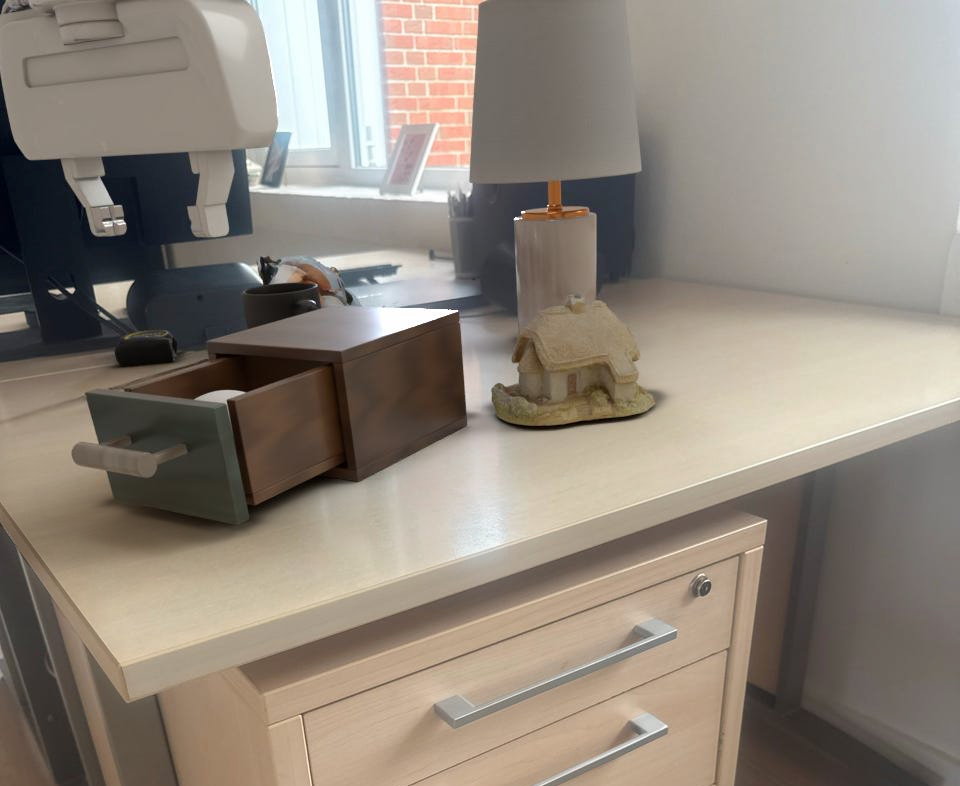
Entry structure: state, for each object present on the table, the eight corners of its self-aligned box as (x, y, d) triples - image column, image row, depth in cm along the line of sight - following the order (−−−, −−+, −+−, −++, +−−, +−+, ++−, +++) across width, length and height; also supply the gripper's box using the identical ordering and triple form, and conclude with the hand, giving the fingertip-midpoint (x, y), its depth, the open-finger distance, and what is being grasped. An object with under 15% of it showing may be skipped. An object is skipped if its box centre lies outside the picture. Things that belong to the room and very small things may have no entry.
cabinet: (358, 481, 70) (340, 351, 65) (229, 461, 76) (204, 341, 71) (467, 425, 81) (459, 310, 76) (347, 411, 88) (332, 305, 83)
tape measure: (117, 375, 109) (109, 343, 107) (129, 362, 115) (122, 331, 113) (175, 369, 109) (168, 337, 107) (184, 357, 115) (177, 327, 113)
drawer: (188, 549, 57) (159, 427, 54) (63, 520, 64) (29, 408, 60) (370, 459, 71) (357, 356, 67) (253, 442, 77) (235, 347, 73)
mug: (284, 398, 94) (268, 301, 89) (246, 378, 103) (230, 289, 98) (357, 384, 97) (345, 290, 92) (313, 366, 106) (301, 279, 102)
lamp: (639, 324, 115) (647, 0, 99) (635, 358, 99) (643, -23, 82) (493, 329, 119) (476, 16, 102) (466, 363, 103) (441, -2, 86)
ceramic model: (604, 386, 90) (604, 278, 85) (674, 410, 81) (679, 291, 76) (478, 411, 85) (470, 299, 80) (538, 440, 76) (534, 315, 71)
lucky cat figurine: (400, 338, 116) (378, 242, 105) (335, 395, 112) (305, 301, 100) (318, 297, 122) (289, 202, 111) (254, 349, 118) (217, 256, 106)
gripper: (-54, -11, 54) (16, 240, 61) (187, -62, 45) (238, 243, 51) (38, -3, 59) (93, 230, 66) (274, -48, 49) (311, 231, 56)
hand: (159, 236), depth 58 cm, fingers open, 8 cm apart
